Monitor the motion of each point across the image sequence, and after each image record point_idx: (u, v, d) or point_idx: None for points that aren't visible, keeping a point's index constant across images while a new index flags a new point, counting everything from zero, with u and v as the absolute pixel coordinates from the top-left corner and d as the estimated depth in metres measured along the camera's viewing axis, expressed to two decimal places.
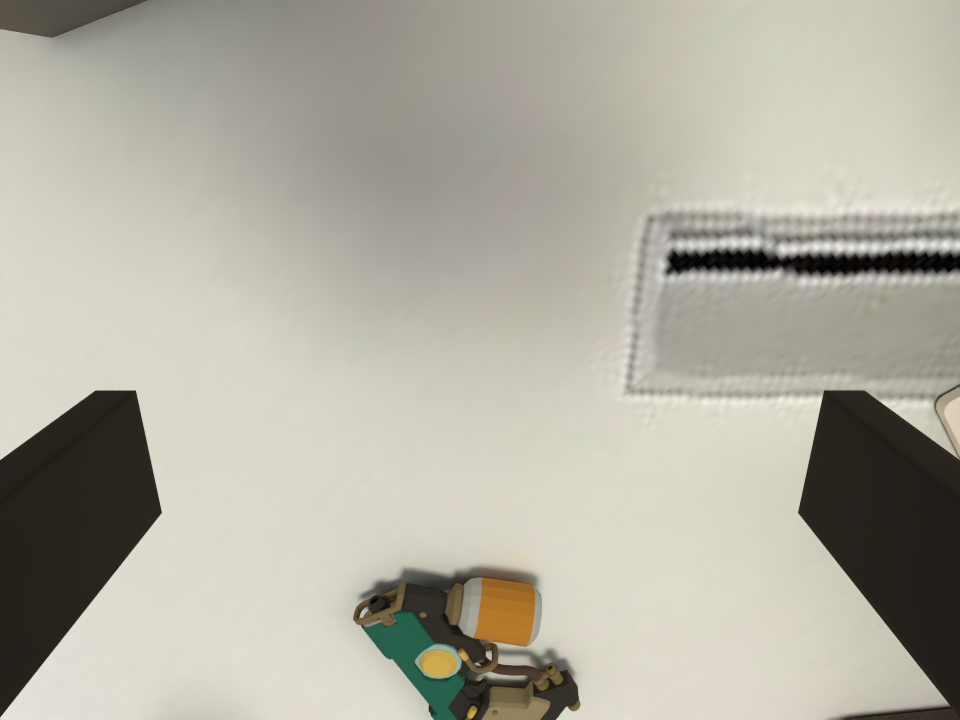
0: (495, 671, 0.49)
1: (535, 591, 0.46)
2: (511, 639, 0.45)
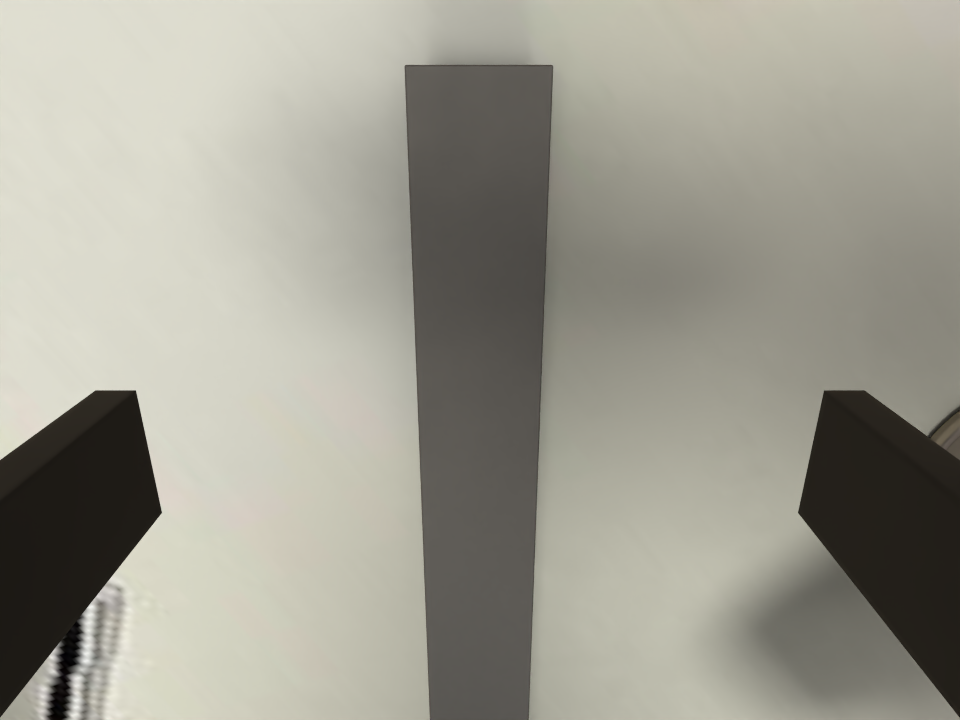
0: None
1: None
2: None
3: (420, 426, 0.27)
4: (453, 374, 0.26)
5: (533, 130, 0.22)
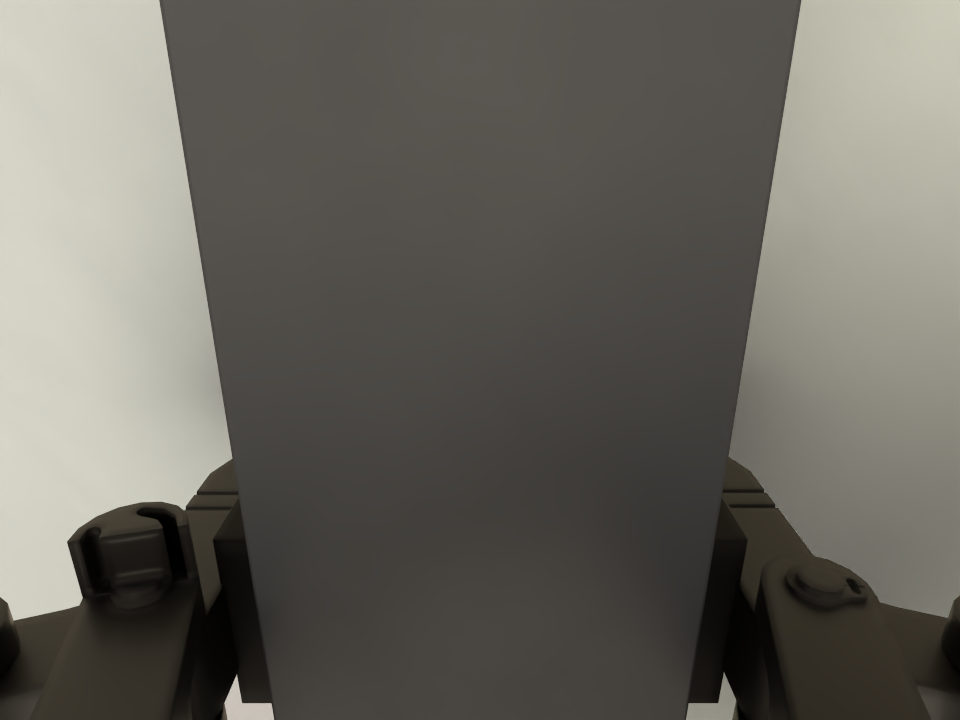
0: None
1: None
2: None
3: None
4: None
5: (699, 191, 0.06)
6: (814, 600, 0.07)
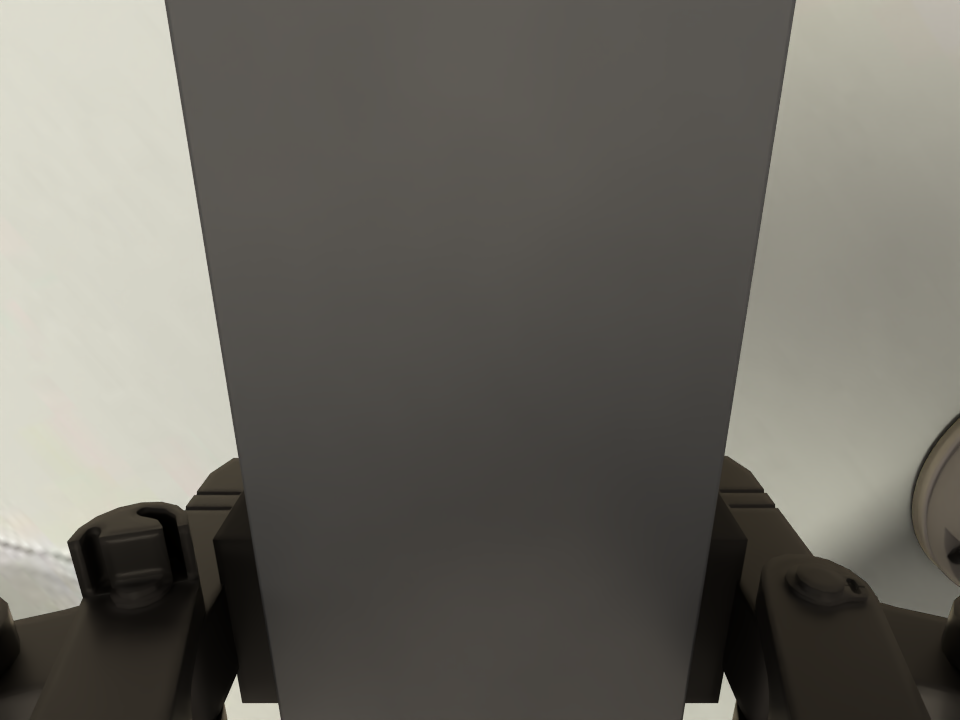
0: None
1: None
2: None
3: None
4: None
5: (696, 194, 0.06)
6: (813, 600, 0.07)
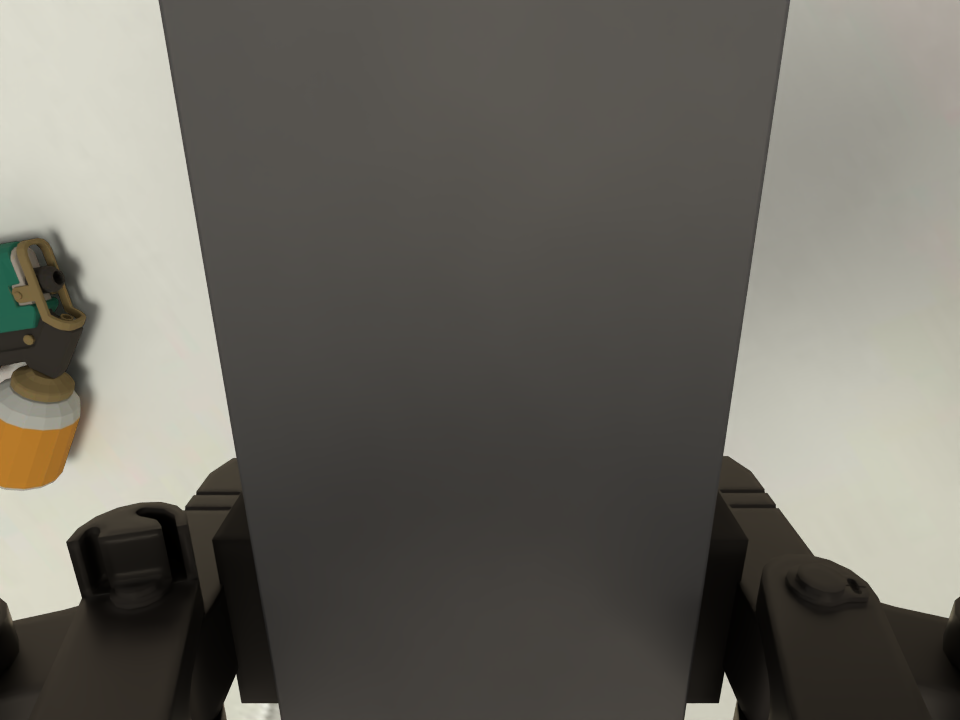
0: None
1: (57, 477, 0.36)
2: None
3: None
4: None
5: (692, 191, 0.06)
6: (815, 601, 0.07)
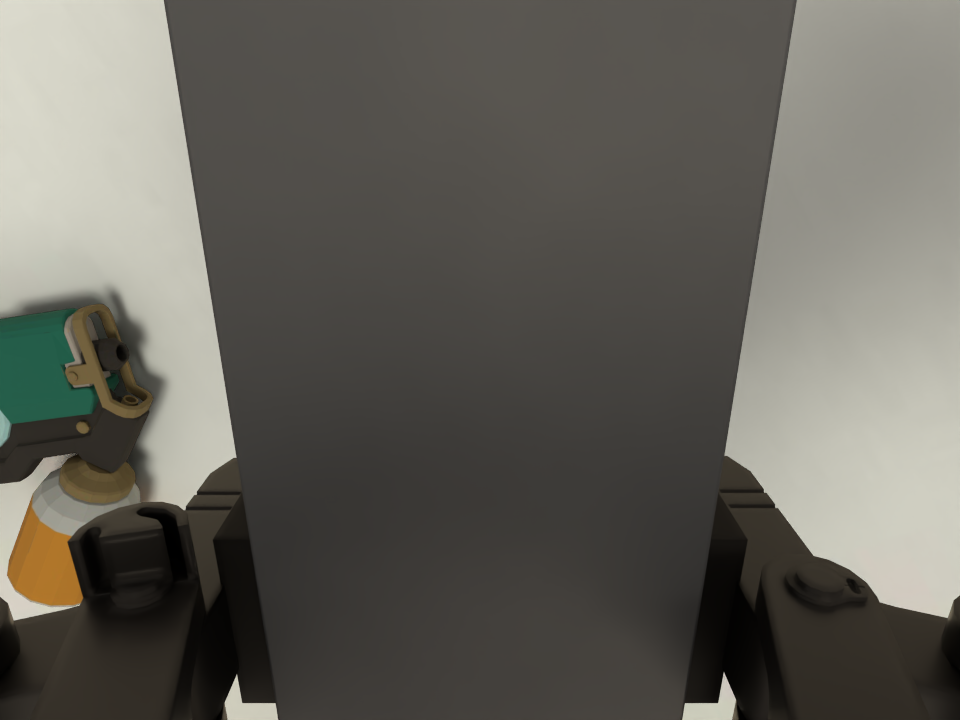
0: None
1: None
2: (28, 572, 0.27)
3: None
4: None
5: (696, 191, 0.06)
6: (813, 601, 0.07)
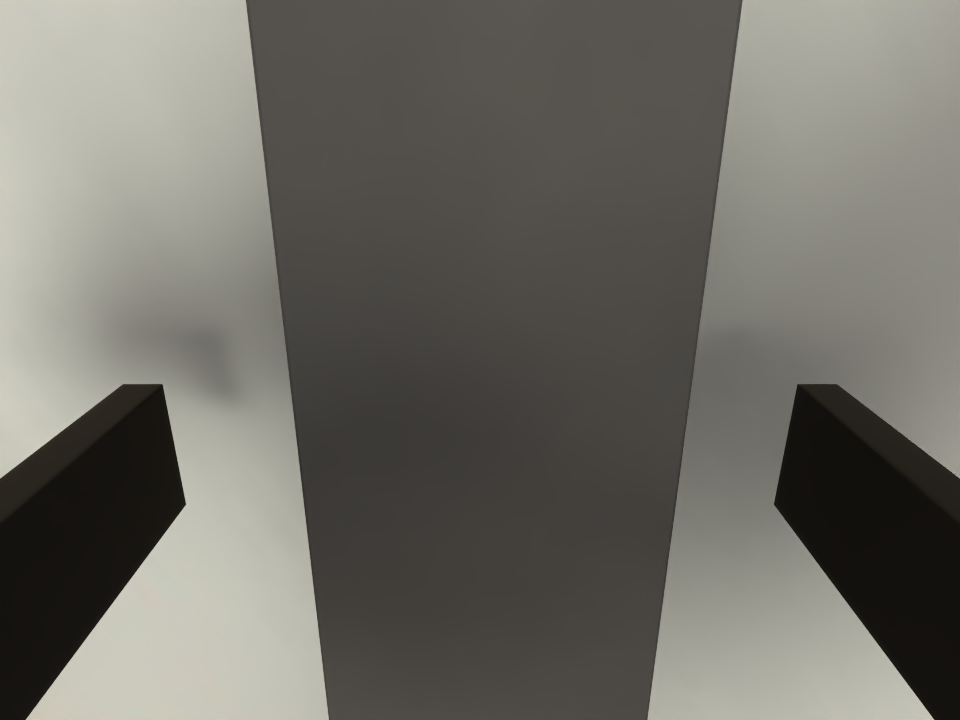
0: None
1: None
2: None
3: None
4: None
5: (664, 177, 0.07)
6: None
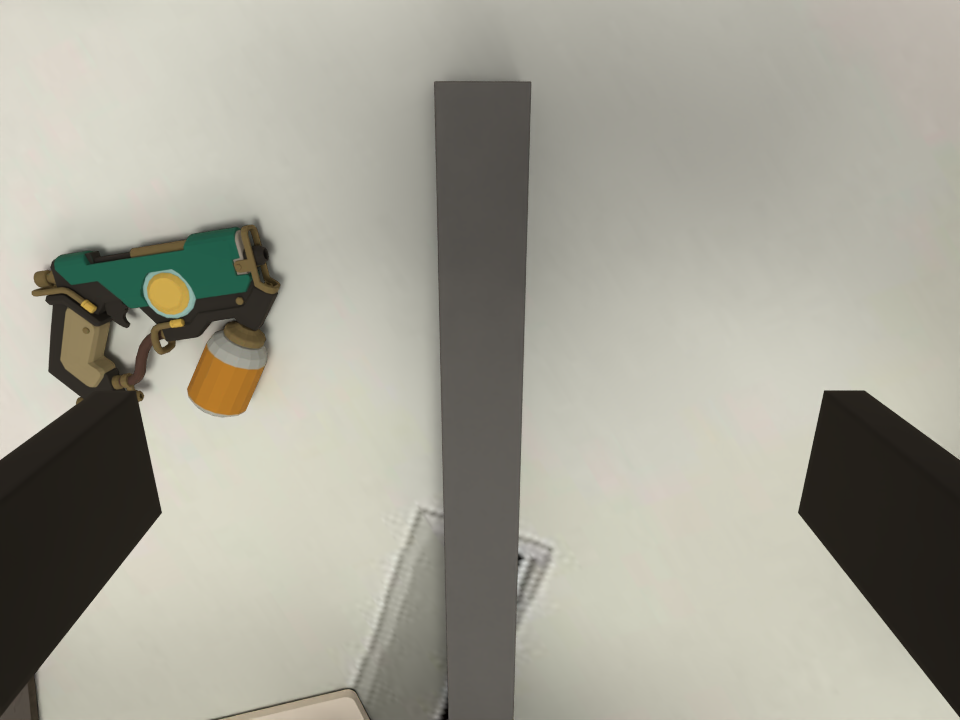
0: (145, 345, 0.45)
1: (245, 409, 0.46)
2: (204, 390, 0.44)
3: (441, 331, 0.38)
4: (464, 293, 0.37)
5: (518, 123, 0.34)
6: None
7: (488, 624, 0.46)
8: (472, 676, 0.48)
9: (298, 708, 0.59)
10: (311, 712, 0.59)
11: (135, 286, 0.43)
